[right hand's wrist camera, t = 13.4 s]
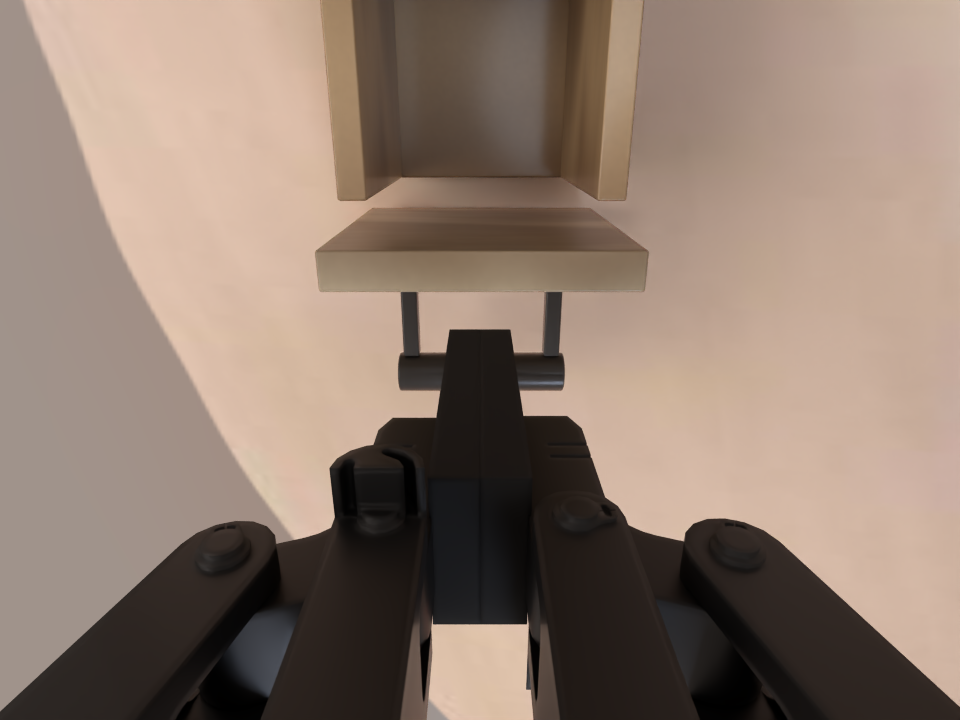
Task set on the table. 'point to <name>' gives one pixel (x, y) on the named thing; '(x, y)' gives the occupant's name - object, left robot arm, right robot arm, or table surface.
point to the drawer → (482, 154)
